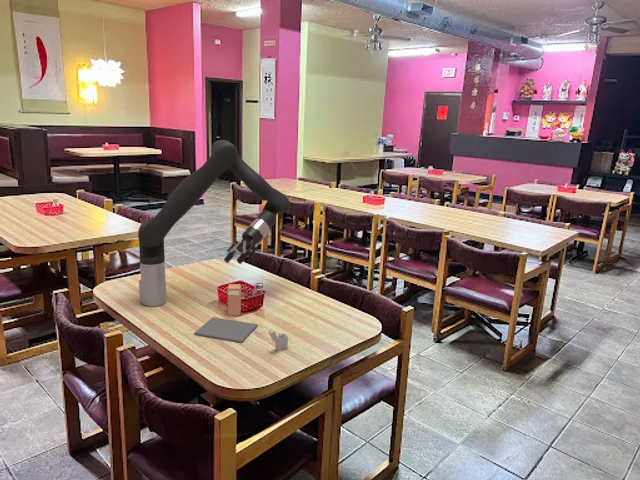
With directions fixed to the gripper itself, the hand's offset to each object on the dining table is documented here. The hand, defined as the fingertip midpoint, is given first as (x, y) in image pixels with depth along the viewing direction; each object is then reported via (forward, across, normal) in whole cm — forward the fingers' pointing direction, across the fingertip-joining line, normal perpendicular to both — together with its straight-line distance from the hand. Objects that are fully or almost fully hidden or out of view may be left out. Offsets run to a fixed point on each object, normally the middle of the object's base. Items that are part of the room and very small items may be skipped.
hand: (231, 261), depth 186 cm
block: (+13, 0, +15) cm, 20 cm away
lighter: (+22, +32, +17) cm, 43 cm away
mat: (+23, +10, +10) cm, 27 cm away
